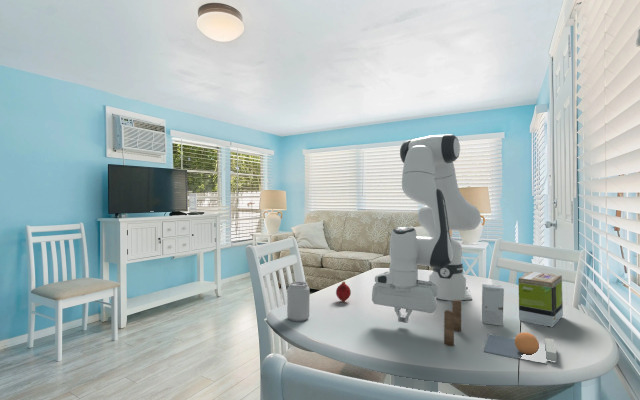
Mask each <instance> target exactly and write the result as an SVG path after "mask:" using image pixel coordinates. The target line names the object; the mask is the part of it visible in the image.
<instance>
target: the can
mask: <svg viewBox="0 0 640 400" xmlns="http://www.w3.org/2000/svg"><path fill="white" fill-rule="evenodd" d="M310 290H311V289H310V287H309V286H308V282H305V281H292V282H289V286H287V290H286V291H287V295H286V297H287V299H286V300H287V306H286V307H287V310H286V313H287V314H286V315H287V316H286V317H287V318H288V319H289V320H290V321H293V322H304V321H306V320H307V319H309V317H310V297H311V296H310V293H311V292H310Z"/></svg>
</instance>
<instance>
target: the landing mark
mask: <svg viewBox="0 0 640 400" xmlns="http://www.w3.org/2000/svg"><path fill="white" fill-rule="evenodd" d="M483 352H484V353H488V354H493V355H497V356H502V355H503V356H502V357H507V356H508V357H507V358H511V357H514V358H513V359H516V358H519V357H520V358H521V357H522V356H521V355H523V353H521V352H520V351H519V350H518V349H517V348H516V346H515V338H511V337H507V336H501V335H495V334H490V333H489V334H488V336H487V340H486V344H485V347H484V351H483Z"/></svg>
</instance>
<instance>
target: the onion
mask: <svg viewBox="0 0 640 400" xmlns="http://www.w3.org/2000/svg"><path fill="white" fill-rule="evenodd" d="M351 291H352V290H351V289H350V286H349V285H348V284H346V281H345V280H344V281H342V282H341V283H340V284H339V285H338V286H337V288H336V291H335V294H336V297H337V298H338V300H339V301H341V302H343V303H344V302H346V301H347V300H348V299H349V298H351V297H350V296H351Z"/></svg>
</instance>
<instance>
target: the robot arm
mask: <svg viewBox="0 0 640 400" xmlns="http://www.w3.org/2000/svg"><path fill="white" fill-rule="evenodd" d="M459 141H460V140H459V139H458V137H457V136H456V135H454V134H452V133H451V134H450V133H444V134H436V135H435V134H434V135H427V136H422V137H419V138H418V137H417V138H414V139H412V138H411V139H408V140H405V141H404V142H403V143H402V144H401V146H400V148H399V149H400V150H399V152H400V153H399V156H400V159H401V162H402V163H403V168H402V175H401V176H402V177H401V189H402V191H403V193H404V194H405V196H406V197H407V198H408V199H410V200H412V201H414V202H415V203H419V204H421V205H423V206H421V207H420V208H419V210H418V212H417V221H418V223H419V225H420V226H421V227H422V228H424V229H425V230H426V232H427V233H428V235H429V236H423V235H422V236H420V235H417V230H416V228H414V227H411V226H397V227H395V228H393V229H392V230H391V233H390V239H389V259H390V263H389V267H388V270H389V271H385V272H382V273H379V274H377V275H376V276H374V282H375V283H374V284H373V287H372V290H371V301H372V303H373V304H374V305H379V306H386V307H392V308H394V312H395V314H396V316H397V322H398V323H405V324H408V323H409V321H410V319H409V318H410V315H411V314H412V313H413V311H416V312H422V313H428V314H434V313H435V312H436V311H437V309H438V304H437V303H438V302H437V301H438V300H437V299H439V300H441V301H442V300H444V301H452V300H460V301H464V300H465V301H468V300H469V301H470V300H472V293H471V292H470V291H471V290H470V289H469V287H468V286H467V279H466V277H465V276H464V274H463V273H464V265H463V263H462V261H463V260H462V259H463V258H462V255H463V254H462V253H463V251H462V249H463V248H462V245H461V243H460V242H459V241H458V240H456V239H454V238H453V237H452V236H451V235H450V231H459V232H464V231H472V230H475V229H477V228H478V227H479V225H480V223H481V217H482V216H481V213H480V211H479V209H478V208H477V207H476V206H475V205H474V204H471V203H470V202H469V201H468V200H466V198H465V197H464V196H463V194H462V193H461V191H460V188H459V185H458V181H457V176H456V175H457V174H456V170H455V164H454V162H455V161H456V160H457V159H458V158H459V156H460V152H461V145H460V142H459ZM418 266H422V267H423V266H425V267H431V268H432V272H431V273H430V274H429V276H428V281H427V280H420V279H419V270H418V269H419V268H418ZM402 309H403V310H405V313H406V315H403V314H402V313H401V310H402Z"/></svg>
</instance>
